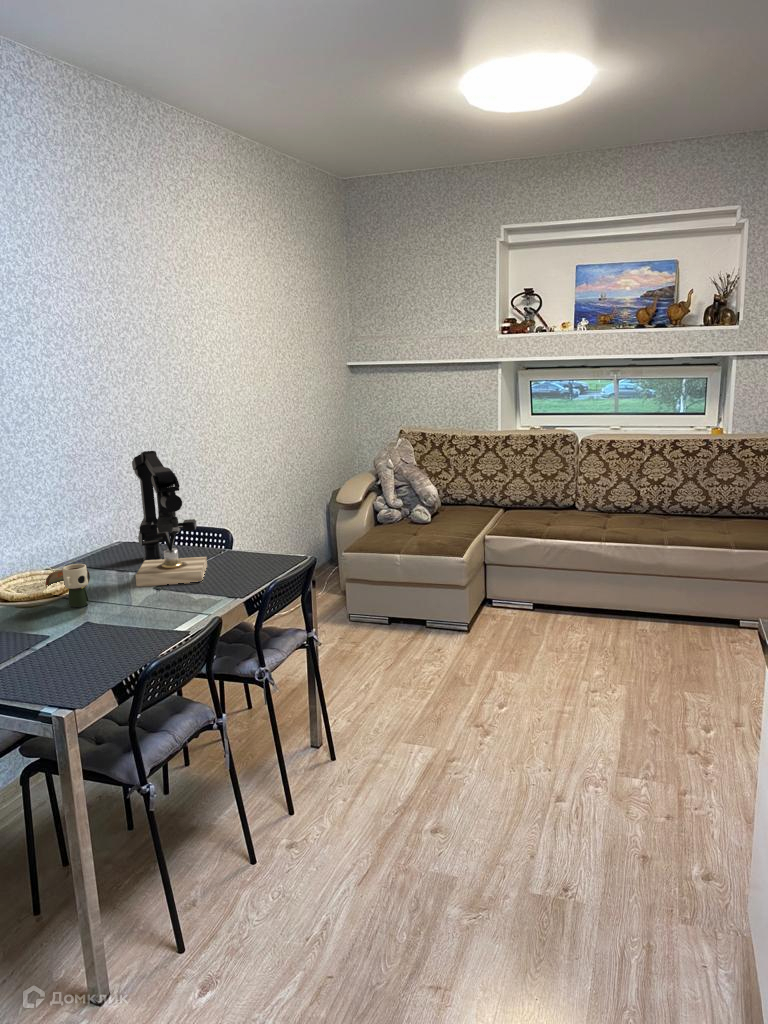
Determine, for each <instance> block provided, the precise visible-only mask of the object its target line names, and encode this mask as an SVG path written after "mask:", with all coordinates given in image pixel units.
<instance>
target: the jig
mask: <svg viewBox="0 0 768 1024" xmlns="http://www.w3.org/2000/svg"><path fill="white" fill-rule="evenodd" d="M178 559H179V561H181V562H182V566H180V567H178V568H173V569H165V568H162V563H164V562H165V561H164V559H162V558H161V559H160V560H145V561H143V562H142V564H141V565H140V568H139V569H138V571H137V572H136V573H135V585H136V587H151V586H165V585H166V586H167V584H169V585H179V584H178V583H184V584H191V583H190V582H198V581H202V580H203V581H204V578H205V575H206V572H205V571H207V569H208V561H207V560H208V559H207V556H199V557H198V556H196V557H178ZM206 568H207V569H206ZM204 574H205V575H204ZM203 577H204V578H203ZM203 581H202V582H203Z"/></svg>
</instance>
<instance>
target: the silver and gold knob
mask: <svg viewBox="0 0 768 1024" xmlns="http://www.w3.org/2000/svg"><path fill="white" fill-rule="evenodd" d="M163 558H164V561H165V562H164V563H162V568H165V569H173V568H178V567H180V566H182V562H181V561H179V559H178V558H179V551H178V548H177V547H172V550H169V549H168V548H164V549H163Z"/></svg>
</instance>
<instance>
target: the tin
mask: <svg viewBox="0 0 768 1024" xmlns="http://www.w3.org/2000/svg"><path fill="white" fill-rule="evenodd" d="M87 579H88V584H89V583H90V579H91V576H90V572H89V570H88V569H87ZM60 581H64V577H63V570H62V569H59V570H56V571H53V572H51V573H50V574H48V576H47V577H46V579H45V586H46V585H48V586H49V585H51V584H53V583H57V582H60ZM87 587H88V585H86V586H85V588H87Z"/></svg>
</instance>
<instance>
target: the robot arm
mask: <svg viewBox="0 0 768 1024" xmlns="http://www.w3.org/2000/svg"><path fill="white" fill-rule="evenodd" d="M131 466H132V467H131V468H132V469H133V471H134V474H135V476H136V477H137V478H138V480H139V483H140V493H141V494H140V495H141V503H142V513H143V518H142V521H141V522H140V525H139V532H138V536H137V539H138V544H139V545H140V546H141V547H143V550H144V557H143V559H142V561H143V562H144V561H145V560H160V559H162V558H163V556H164V553H163V554H161V549H160V548H161V547H160V544H162V543H164V542H165V545H166V546H167V549H169V550H172V548H174V542H175V538H176V535H177V534H179V533H180V531H181V529H183V530H184V531H185V532H189V531H196V529H197V525H198V524H197V520H196V519H195V518H194V519H193V518H192V519H191V518H190V519H183V522H179V518H178V516H177V515H176V512H178V511H179V510H181V509H182V507H183V500H182V498H181V497H180V496H179V495H177V494H176V492H179V491H180V483H179V480H178V477H177V475H176V474H175V473H174V471H173V470H172V469H171V468H169V467H166V466H165V465H164V464H163V463H162V461H161V460H160V458H159V457H158V455H157V452H156V450H148V451H147V450H145V451H142V452H140V454H138V455H137V456H134V457H133V458H132V462H131ZM155 493H156V500H155ZM156 501H157V504H156ZM156 505H157V510H156ZM156 511H157V512H158V515H157V512H156ZM162 555H163V556H162ZM161 557H162V558H161Z"/></svg>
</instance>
